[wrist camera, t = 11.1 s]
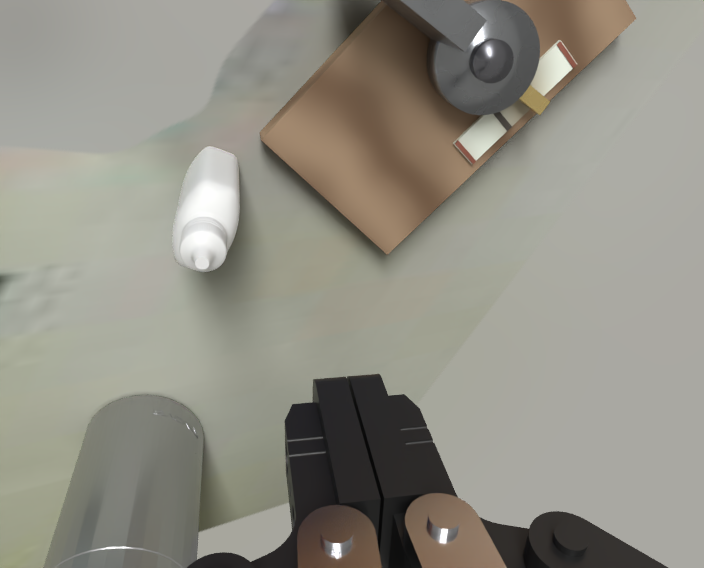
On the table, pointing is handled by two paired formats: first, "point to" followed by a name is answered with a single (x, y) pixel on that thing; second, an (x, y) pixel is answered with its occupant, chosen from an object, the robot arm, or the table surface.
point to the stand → (416, 115)
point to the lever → (478, 52)
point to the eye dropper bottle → (207, 211)
